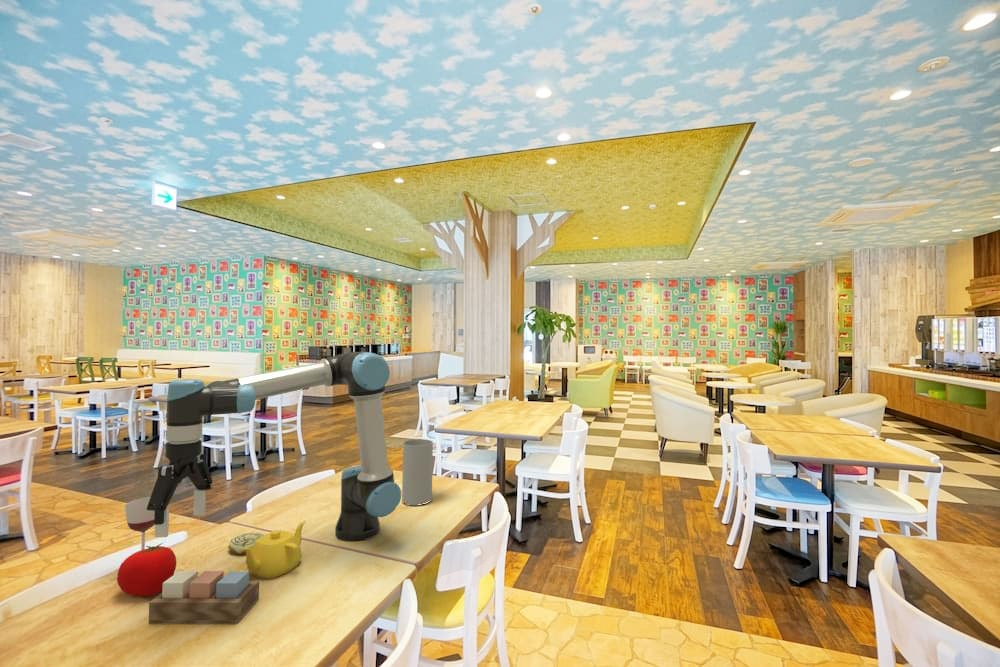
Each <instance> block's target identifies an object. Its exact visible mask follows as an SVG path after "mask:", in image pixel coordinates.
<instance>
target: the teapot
mask: <svg viewBox="0 0 1000 667" xmlns="http://www.w3.org/2000/svg"><path fill="white" fill-rule="evenodd" d="M306 522H307V520H304V521H301V522H300V523H299V524H298V525H297V527H296V529H295V532H294V533H293V532H290V531H286V530H282V529H281V530H278V529H276V530H273V531H270V532H269V533H266V534H263V535H264V536H262V537H260V538H258V539H257V540H256V541H255V543H254V544H253V547H252V549H251V548H249V547H245V548H242V549H241V550H244V551H245V552H246V555H245V558H246V559H245V562H246V569H247V570H248V571H249V574H250V575H252V576H253V577H257V578H260V579H263V580H265V579H266V580H270V579H274V578H277V577H280V576H283V575H285V574H286V573H288V572H290V571H292V570H293V569H295V568H296V567H297V566H298V565H299V563H300V562H301V559H302V548H301V544H302V543H301V542H302V531H303V530H302V529H303V526H304V525H305V524H306Z"/></svg>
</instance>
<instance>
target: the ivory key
mask: <svg viewBox="0 0 1000 667" xmlns="http://www.w3.org/2000/svg"><path fill="white" fill-rule="evenodd" d="M198 576H199V571H198V570H179V571H177V572H175V573H174V575H173V576H172V577H170V578H169V579H168V580H166V581H165V582H164V583H163V590H162V591H161V593H162V599H183V598H184V597H185V596H186V595H188V594H189V589H190V583H191V582H192V581H193V580H194V579H196V578H197V577H198Z"/></svg>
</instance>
